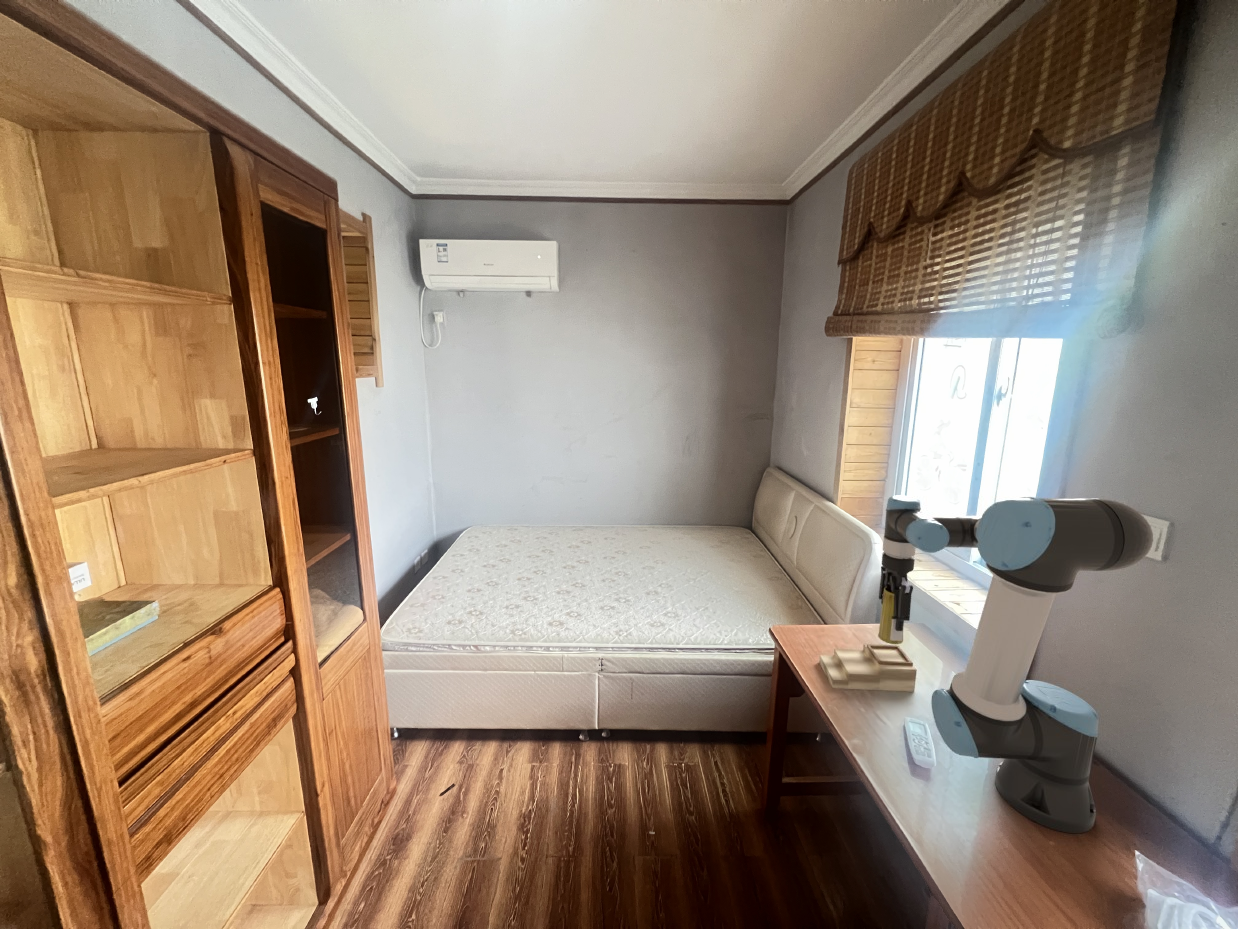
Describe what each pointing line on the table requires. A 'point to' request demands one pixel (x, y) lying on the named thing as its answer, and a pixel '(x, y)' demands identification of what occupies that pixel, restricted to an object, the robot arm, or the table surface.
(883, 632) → the vase
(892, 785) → the table surface
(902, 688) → the step stand
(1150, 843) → the table surface
